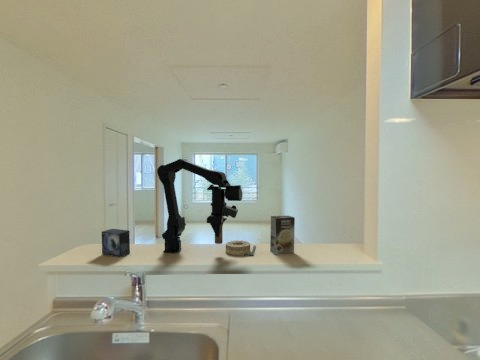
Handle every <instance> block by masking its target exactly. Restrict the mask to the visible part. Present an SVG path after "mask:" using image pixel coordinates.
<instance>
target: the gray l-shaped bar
mask: <svg viewBox="0 0 480 360" xmlns="http://www.w3.org/2000/svg"><path fill="white" fill-rule="evenodd" d="M251 251H252V252H251V253H247V254H243V256H244V257H254V254H255V251H256V245H253V248H252V250H251Z"/></svg>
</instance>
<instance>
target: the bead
mask: <svg viewBox="0 0 480 360" xmlns="http://www.w3.org/2000/svg"><path fill="white" fill-rule="evenodd" d="M225 252H226V253H227V255H228V254H229V255H232V256H236V255H237V256H241V255H243V256H244V254H251V243H250V242H249V241H246V240H230V241H227V242H225Z"/></svg>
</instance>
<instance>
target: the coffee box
mask: <svg viewBox="0 0 480 360" xmlns="http://www.w3.org/2000/svg"><path fill="white" fill-rule="evenodd" d="M295 219H296V218H295V216H290V215H271V216H270V241H269V242H270V245H269V247H270V248H269V249H270V252H271V253H272V254H274V255H276V256H277V255H284V254H285V255H286V254H287V255H288V254H294V253H295V228H296V227H295V226H296V225H295V222H296V221H295Z"/></svg>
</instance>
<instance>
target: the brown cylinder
mask: <svg viewBox="0 0 480 360" xmlns="http://www.w3.org/2000/svg"><path fill="white" fill-rule="evenodd" d="M223 243H224V242H223V226H222V224H221V227H220V234H219V237H216V235H215V234H214V244H216V245H220V244H223Z"/></svg>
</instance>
